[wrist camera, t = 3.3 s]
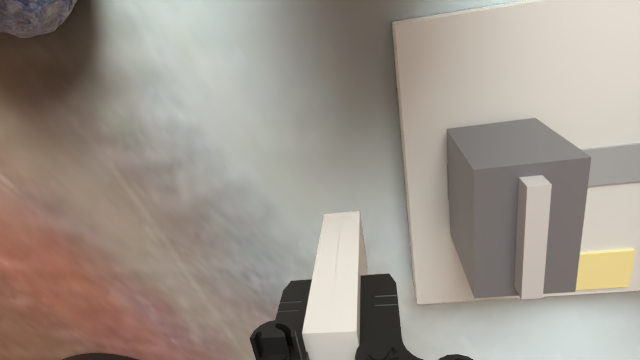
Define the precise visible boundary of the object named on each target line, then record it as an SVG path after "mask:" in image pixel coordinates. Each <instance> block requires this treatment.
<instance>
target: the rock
mask: <svg viewBox="0 0 640 360" xmlns="http://www.w3.org/2000/svg"><path fill="white" fill-rule="evenodd" d="M76 2H77V0H0V32H2V33H8V34H13V35H15V36H17V37H19V38H27V37H32V36H35V35H42V34H47V33H50V32H52V31H55V30H56V29H57V27H58V26H60V25H62V24H63V23H64V21H65V20H66V18H67V17H68V16H69V14H70V13H71V12H72V9H73V7H74V5H75V3H76Z"/></svg>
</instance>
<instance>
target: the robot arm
mask: <svg viewBox="0 0 640 360" xmlns="http://www.w3.org/2000/svg"><path fill="white" fill-rule="evenodd" d="M250 341H251V345H252V348H253V351H254V354H255V358H256V360H423V359H420V358H417V357H416V356H414V355H412V354H411V353H410V352H409V351H408V350H407V349H406V348H405V346H404V344H403V341H402V336H401V326H400V317H399V307H398V297H397V288H396V282H395V281H394V280H393V278H392V277H391V276H390V274H376V275H367V260H366V253H365V245H364V238H363V231H362V224H361V216H360V211H352V212H341V213H330V214H324V218H323V223H322V228H321V234H320V239H319V245H318V250H317V255H316V261H315V266H314V271H313V277H312V280H297V281H291V282H290V283H289V284H288V286H287V287H286V288H285V289H284V290H283V294H282V297H281V301H280V304H279V308H278V313H277V315H276V319H275V320H274V321H269V322H267V323H264V324H262V325H260V326H259V327H258V328H257V329H256V330H255V331H254V332H253V333H252V335H251V337H250ZM63 360H136V359H132V358H128V357H124V356H119V355H113V354H102V353H90V354H81V355H76V356H72V357H68V358H65V359H63ZM439 360H473V359H471V358H469V357H467V356H463V355H459V354H455V355H447V356H444V357H442V358H440V359H439Z"/></svg>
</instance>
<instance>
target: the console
mask: <svg viewBox="0 0 640 360" xmlns="http://www.w3.org/2000/svg"><path fill="white" fill-rule="evenodd" d="M392 32H393V44H394V56H395V68H396V80H397V92H398V104H399V116H400V128H401V141H402V153H403V165H404V177H405V189H406V201H407V213H408V225H409V237H410V249H411V261H412V274H413V284H414V290H415V295H416V300H417V305H418V304H434V303H450V302H466V301H482V300H498V299H514V298H520V296H504V297H488V298H474V296H473V293H472V291H471V288H470V285H469V283H468V280H467V278H466V275H465V272H464V270H463V267H462V264H461V262H460V259H459V256H458V254H457V251H456V249H455V246H454V243H453V241H452V238H451V235H450V210H449V181H448V153H447V129H449V128H457V127H465V126H473V125H481V124H489V123H497V122H505V121H513V120H521V119H530V118H536V119H538V120H539V121H541V122H542V123H543V124H545V125H546V126H548V127H549V128H551V129H552V130H553V131H555V132H556V133H558V134H559V135H561V136H562V137H563V138H565V139H566V140H568V141H569V142H571V143H572V144H573V145H575V146H576V147H578V148H579V149H581V150H582V151H583V152H585V153H586V154H588V155H589V156H591V165H590V173H589V182H588V190H587V198H586V207H585V215H584V223H583V232H582V240H581V249H580V257H579V265H578V274H577V282H576V290H575V292H567V293H551V294H543V297H546V296H562V295H578V294H594V293H610V292H626V291H640V0H522V1H516V2H510V3H504V4H498V5H492V6H486V7H479V8H473V9H467V10H461V11H455V12H449V13H443V14H437V15H431V16H425V17H418V18H412V19H406V20H400V21H394V22H392Z"/></svg>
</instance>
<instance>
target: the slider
mask: <svg viewBox="0 0 640 360" xmlns="http://www.w3.org/2000/svg"><path fill="white" fill-rule="evenodd" d="M447 153H448V181H449V210H450V235H451V238H452V241H453V243H454V246H455V249H456V251H457V254H458V256H459V259H460V262H461V264H462V267H463V270H464V272H465V275H466V278H467V280H468V283H469V285H470V288H471V291H472V293H473V296H474V298H488V297H504V296H520V298H521V300H522V299H538V298H543V294H551V293H567V292H575V290H576V282H577V274H578V265H579V257H580V249H581V240H582V232H583V223H584V215H585V207H586V198H587V190H588V182H589V173H590V165H591V156H589V155H588V154H586V153H585V152H583V151H582V150H581V149H579V148H578V147H576V146H575V145H573V144H572V143H571V142H569V141H568V140H566V139H565V138H563V137H562V136H561V135H559V134H558V133H556V132H555V131H553V130H552V129H551V128H549V127H548V126H546V125H545V124H543V123H542V122H541V121H539V120H538V119H536V118H530V119H521V120H513V121H505V122H497V123H489V124H481V125H473V126H465V127H457V128H449V129H447Z"/></svg>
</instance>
